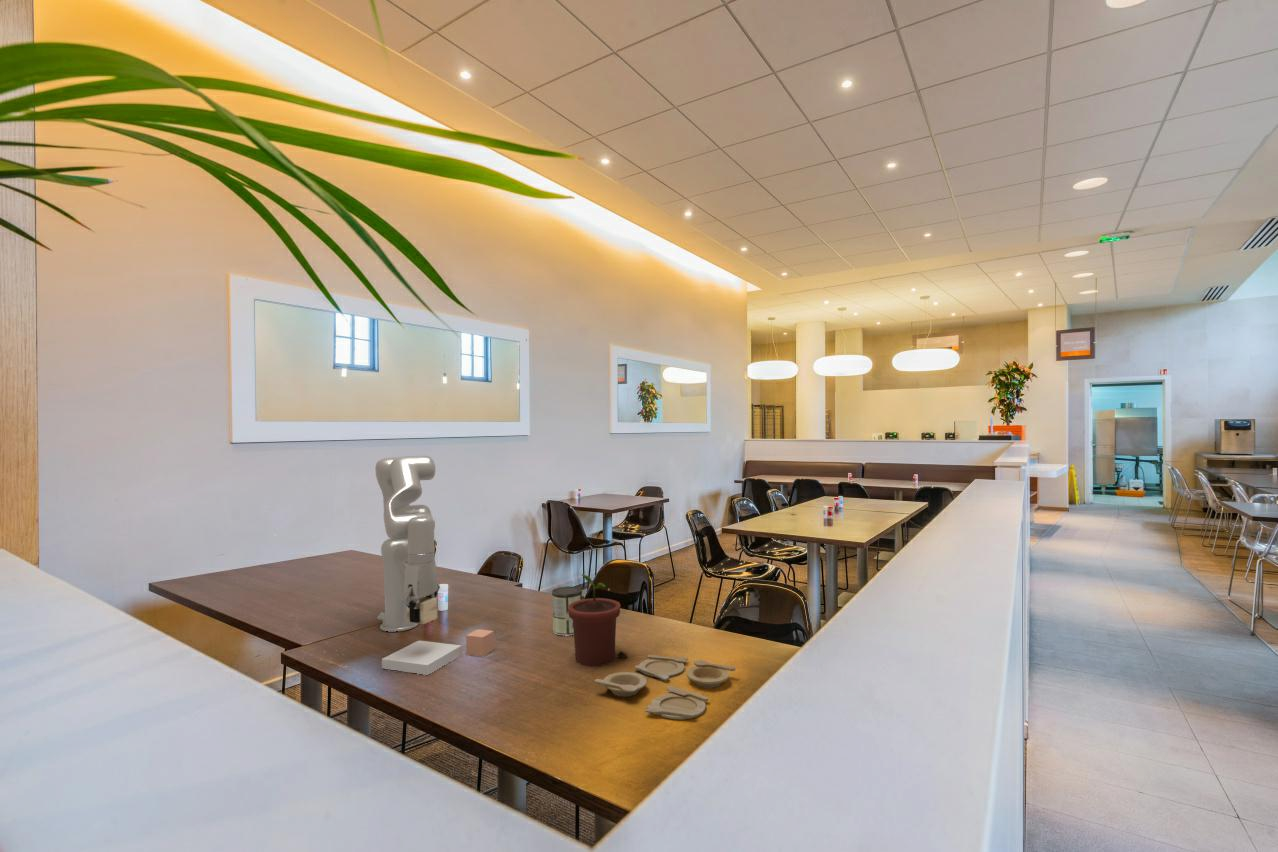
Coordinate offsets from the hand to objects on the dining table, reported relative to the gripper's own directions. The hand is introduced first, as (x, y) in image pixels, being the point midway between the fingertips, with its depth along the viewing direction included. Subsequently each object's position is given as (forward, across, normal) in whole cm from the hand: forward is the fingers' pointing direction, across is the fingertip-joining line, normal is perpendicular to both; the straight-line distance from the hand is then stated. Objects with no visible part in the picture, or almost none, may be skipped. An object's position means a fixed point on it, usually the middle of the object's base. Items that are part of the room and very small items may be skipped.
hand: (422, 618), depth 180 cm
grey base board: (+13, 0, 0) cm, 13 cm away
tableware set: (+14, -5, +75) cm, 77 cm away
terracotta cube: (+13, -12, +12) cm, 22 cm away
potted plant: (+14, -20, +48) cm, 54 cm away
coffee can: (+13, -37, +30) cm, 50 cm away
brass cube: (+1, 0, 0) cm, 1 cm away
